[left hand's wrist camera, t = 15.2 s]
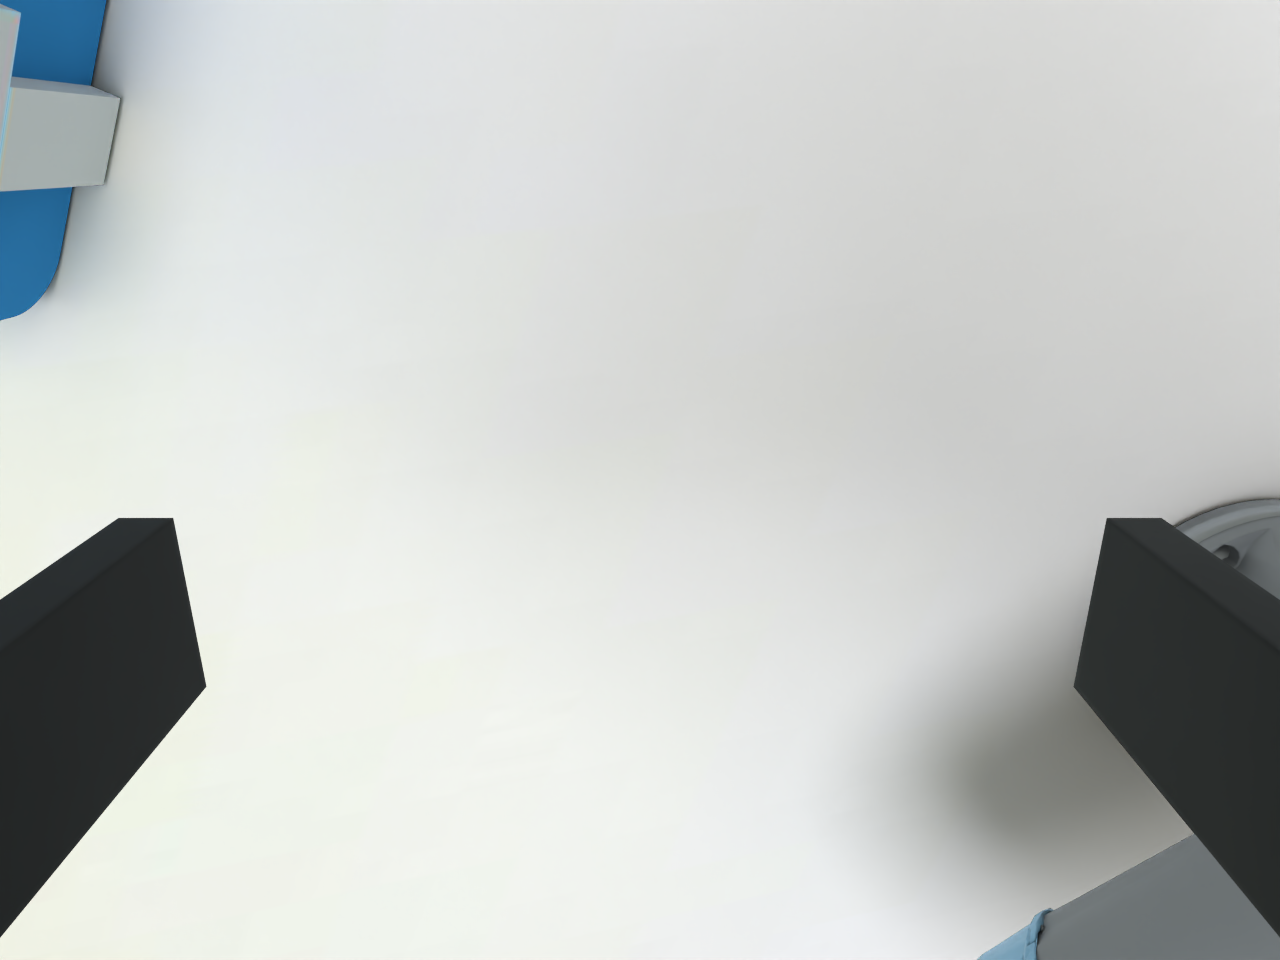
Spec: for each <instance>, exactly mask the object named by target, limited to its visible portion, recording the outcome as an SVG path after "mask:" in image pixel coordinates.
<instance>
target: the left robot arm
mask: <svg viewBox="0 0 1280 960" xmlns="http://www.w3.org/2000/svg"><path fill="white" fill-rule="evenodd" d="M205 688H206V683H205V677H204V672H203V667H202V662H201V657H200V652H199V647H198V642H197V637H196V632H195V627H194V622H193V617H192V611H191V606H190V601H189V596H188V591H187V586H186V581H185V576H184V571H183V566H182V561H181V556H180V551H179V545H178V540H177V535H176V530H175V525H174V520H173V518H118V519H117V520H115V521H114V522H112V523H111V524H109V525H108V526H106V527H105V528H104V529H102V530H101V531H99V532H98V533H96V534H95V535H93V536H92V537H91V538H89V539H88V540H86V541H85V542H83V543H82V544H80V545H79V546H78V547H76V548H75V549H73V550H72V551H70V552H69V553H67V554H66V555H64V556H63V557H62V558H60V559H59V560H57V561H56V562H54V563H53V564H51V565H50V566H49V567H47V568H46V569H44V570H43V571H41V572H40V573H38V574H37V575H35V576H34V577H33V578H31V579H30V580H28V581H27V582H25V583H24V584H22V585H21V586H20V587H18V588H17V589H15V590H14V591H12V592H11V593H9V594H8V595H6V596H5V597H4V598H2V599H1V600H0V937H1V936H2V935H3V933H4V932H5V931H6V930H7V929H8V927H9V926H10V925H11V924H12V923H13V921H14V920H15V919H16V918H17V916H18V915H19V914H20V913H21V912H22V910H23V909H24V908H25V907H26V905H27V904H28V903H29V902H30V901H31V899H32V898H33V897H34V896H35V895H36V893H37V892H38V891H39V890H40V888H41V887H42V886H43V885H44V884H45V882H46V881H47V880H48V879H49V877H50V876H51V875H52V874H53V873H54V871H55V870H56V869H57V868H58V867H59V865H60V864H61V863H62V862H63V860H64V859H65V858H66V857H67V856H68V854H69V853H70V852H71V851H72V849H73V848H74V847H75V846H76V845H77V843H78V842H79V841H80V840H81V839H82V837H83V836H84V835H85V834H86V832H87V831H88V830H89V829H90V828H91V826H92V825H93V824H94V823H95V821H96V820H97V819H98V818H99V817H100V815H101V814H102V813H103V812H104V811H105V809H106V808H107V807H108V806H109V804H110V803H111V802H112V801H113V800H114V798H115V797H116V796H117V795H118V793H119V792H120V791H121V790H122V789H123V787H124V786H125V785H126V784H127V783H128V781H129V780H130V779H131V778H132V776H133V775H134V774H135V773H136V772H137V770H138V769H139V768H140V767H141V765H142V764H143V763H144V762H145V761H146V759H147V758H148V757H149V756H150V754H151V753H152V752H153V751H154V750H155V748H156V747H157V746H158V745H159V744H160V742H161V741H162V740H163V739H164V737H165V736H166V735H167V734H168V733H169V731H170V730H171V729H172V728H173V726H174V725H175V724H176V723H177V722H178V720H179V719H180V718H181V717H182V716H183V714H184V713H185V712H186V711H187V709H188V708H189V707H190V706H191V705H192V703H193V702H194V701H195V700H196V698H197V697H198V696H199V695H200V694H201V692H202V691H203V690H204V689H205ZM1074 688H1075V689H1076V690H1077V691H1078V692H1079V694H1080V695H1081V696H1082V697H1083V698H1084V700H1085V701H1086V702H1087V703H1088V705H1089V706H1090V707H1091V708H1092V709H1093V711H1094V712H1095V713H1096V714H1097V716H1098V717H1099V718H1100V719H1101V720H1102V722H1103V723H1104V724H1105V725H1106V726H1107V728H1108V729H1109V730H1110V731H1111V733H1112V734H1113V735H1114V736H1115V737H1116V739H1117V740H1118V741H1119V742H1120V744H1121V745H1122V746H1123V747H1124V748H1125V750H1126V751H1127V752H1128V753H1129V754H1130V756H1131V757H1132V758H1133V759H1134V761H1135V762H1136V763H1137V764H1138V765H1139V767H1140V768H1141V769H1142V770H1143V772H1144V773H1145V774H1146V775H1147V776H1148V778H1149V779H1150V780H1151V781H1152V783H1153V784H1154V785H1155V786H1156V787H1157V789H1158V790H1159V791H1160V792H1161V793H1162V795H1163V796H1164V797H1165V798H1166V800H1167V801H1168V802H1169V803H1170V804H1171V806H1172V807H1173V808H1174V809H1175V811H1176V812H1177V813H1178V814H1179V815H1180V817H1181V818H1182V819H1183V820H1184V821H1185V823H1186V824H1187V825H1188V826H1189V828H1190V829H1191V830H1192V831H1193V832H1194V834H1193V835H1191V836H1189V837H1188V838H1186V839H1184V840H1182V841H1180V842H1179V843H1177V844H1175V845H1173V846H1171V847H1169V848H1168V849H1166V850H1164V851H1162V852H1160V853H1158V854H1157V855H1155V856H1153V857H1151V858H1149V859H1148V860H1146V861H1144V862H1142V863H1140V864H1138V865H1137V866H1135V867H1133V868H1131V869H1129V870H1128V871H1126V872H1124V873H1122V874H1120V875H1118V876H1117V877H1115V878H1113V879H1111V880H1109V881H1108V882H1106V883H1104V884H1102V885H1100V886H1098V887H1097V888H1095V889H1093V890H1091V891H1089V892H1088V893H1086V894H1084V895H1082V896H1080V897H1078V898H1077V899H1075V900H1073V901H1071V902H1069V903H1067V904H1065V905H1063V906H1061V907H1059V908H1058V909H1056V910H1053V909H1051V908H1049V909H1046V910H1043V911H1041V912H1040V913H1038V914H1037V915H1035V916H1034V918H1033V920H1032V922H1031V924H1029V925H1028V926H1026V927H1025V928H1023V929H1021V930H1020V931H1018V932H1017V933H1015V934H1014V935H1012V936H1011V937H1009V938H1008V939H1006V940H1004V941H1003V942H1001V943H1000V944H998V945H997V946H995V947H994V948H992V949H990V950H989V951H987V952H985V953H984V954H982V955H981V956H980V957H979V958H978V959H977V960H1280V499H1263V500H1254V501H1246V502H1241V503H1236V504H1231V505H1228V506H1224V507H1221V508H1217V509H1214V510H1212V511H1209V512H1206V513H1204V514H1201V515H1199V516H1197V517H1195V518H1192V519H1190V520H1188V521H1186V522H1184V523H1183V524H1181V525H1179V526H1177V527H1174V526H1172V525H1171V524H1169V523H1168V522H1166V521H1165V520H1163V519H1162V518H1107V520H1106V525H1105V530H1104V535H1103V540H1102V545H1101V551H1100V556H1099V561H1098V566H1097V571H1096V576H1095V581H1094V586H1093V591H1092V596H1091V601H1090V606H1089V611H1088V617H1087V622H1086V627H1085V632H1084V637H1083V642H1082V647H1081V652H1080V657H1079V662H1078V667H1077V672H1076V677H1075V683H1074Z"/></svg>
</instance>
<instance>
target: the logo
mask: <svg viewBox="0 0 1280 960" xmlns="http://www.w3.org/2000/svg"><path fill="white" fill-rule="evenodd" d="M105 5H106V0H0V320H3V319H7V318H11V317H14V316H17V315H20V314H22V313H24V312H25V311H27V310H28V309H30V308H31V307H32V306H33V305H34V304H35V303H36V302H37V301H38V300H39V299H40V298H41V296H42V295H43V294H44V292H45V291H46V289H47V288H48V286H49V284H50V283H51V281H52V278H53V276H54V274H55V271H56V269H57V265H58V262H59V258H60V253H61V247H62V242H63V236H64V231H65V225H66V220H67V214H68V209H69V203H70V198H71V192H72V187H79V186H94V185H104V180H105V175H106V170H107V165H108V159H109V154H110V149H111V144H112V139H113V134H114V129H115V124H116V119H117V114H118V109H119V104H120V98H119V97H116V96H114V95H112V94H109V93H107V92H104V91H102V90H100V89H97V88H95V87H93V86H91V82H92V77H93V71H94V66H95V60H96V55H97V49H98V44H99V38H100V33H101V27H102V22H103V16H104V11H105Z"/></svg>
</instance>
